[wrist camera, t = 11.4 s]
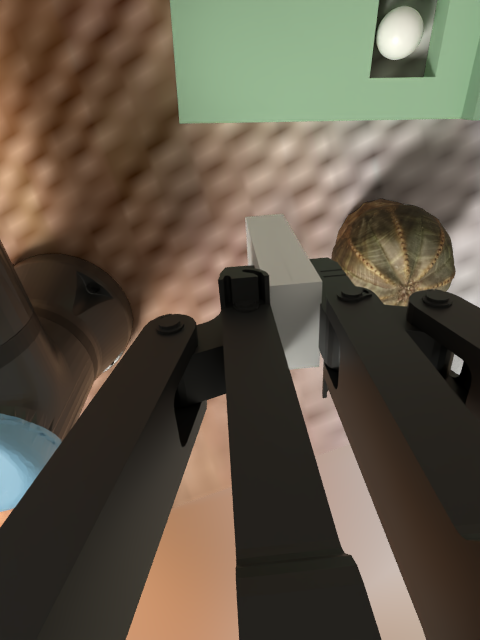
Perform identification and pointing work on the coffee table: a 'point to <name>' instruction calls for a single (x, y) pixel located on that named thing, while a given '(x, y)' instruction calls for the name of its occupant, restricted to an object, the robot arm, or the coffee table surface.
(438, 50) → the mat
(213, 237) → the coffee table surface
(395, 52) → the ball
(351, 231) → the ribbed round cactus
